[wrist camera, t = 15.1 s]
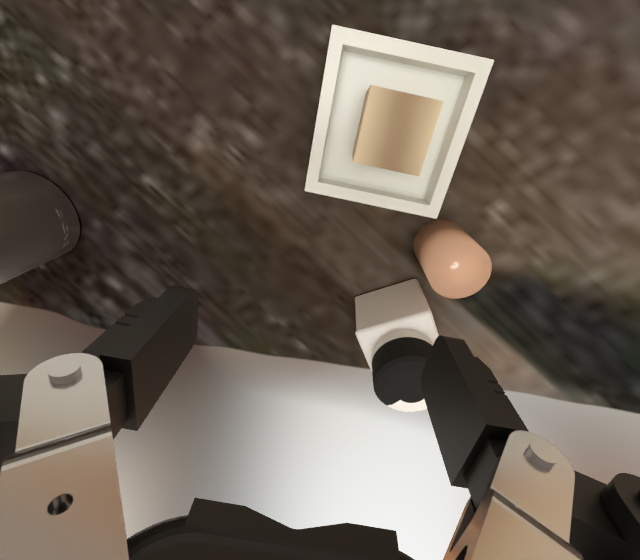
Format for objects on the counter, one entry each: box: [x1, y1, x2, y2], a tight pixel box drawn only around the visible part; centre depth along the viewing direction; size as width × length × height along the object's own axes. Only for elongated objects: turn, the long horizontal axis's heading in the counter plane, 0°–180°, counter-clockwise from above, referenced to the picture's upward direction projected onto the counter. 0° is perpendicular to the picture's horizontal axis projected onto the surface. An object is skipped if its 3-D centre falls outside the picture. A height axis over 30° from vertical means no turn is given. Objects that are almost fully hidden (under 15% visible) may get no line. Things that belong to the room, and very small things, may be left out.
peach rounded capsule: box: [413, 219, 492, 298], centre depth 30 cm, size 5×5×7 cm
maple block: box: [352, 85, 443, 176], centre depth 26 cm, size 5×5×6 cm
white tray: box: [304, 25, 494, 219], centre depth 28 cm, size 12×12×3 cm
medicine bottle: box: [354, 279, 439, 412], centre depth 32 cm, size 7×7×12 cm
